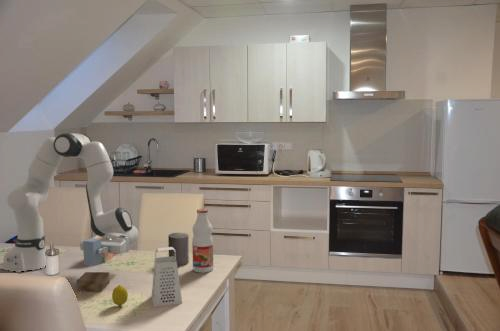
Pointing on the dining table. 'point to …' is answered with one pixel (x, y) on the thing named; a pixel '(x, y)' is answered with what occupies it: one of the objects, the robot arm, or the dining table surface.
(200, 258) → the fruit juice
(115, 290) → the lemon
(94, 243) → the slate block
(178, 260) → the pillar candle
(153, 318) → the dining table surface
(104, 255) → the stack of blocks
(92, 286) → the walnut block
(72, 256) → the dining table surface
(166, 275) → the grater
